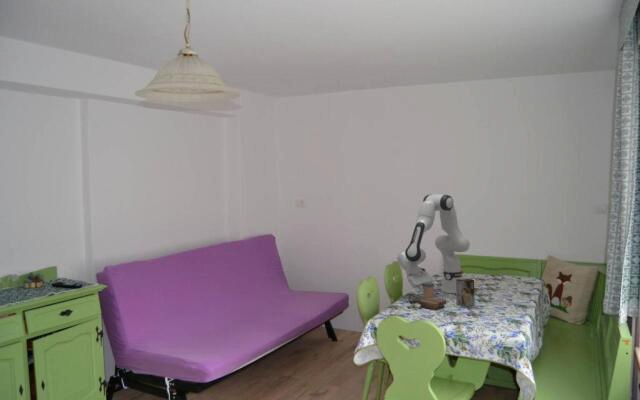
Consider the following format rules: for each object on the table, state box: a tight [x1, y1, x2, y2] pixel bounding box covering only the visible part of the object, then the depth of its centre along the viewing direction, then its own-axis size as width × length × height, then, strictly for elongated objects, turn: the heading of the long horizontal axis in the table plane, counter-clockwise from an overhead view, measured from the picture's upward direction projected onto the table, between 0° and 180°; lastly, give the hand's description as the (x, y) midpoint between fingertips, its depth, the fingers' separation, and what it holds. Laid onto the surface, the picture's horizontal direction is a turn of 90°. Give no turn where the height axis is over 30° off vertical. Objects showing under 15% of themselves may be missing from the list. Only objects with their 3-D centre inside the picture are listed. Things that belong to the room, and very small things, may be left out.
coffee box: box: [455, 277, 476, 308], centre depth 310 cm, size 9×6×16 cm
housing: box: [422, 282, 435, 300], centre depth 320 cm, size 5×5×12 cm
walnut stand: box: [418, 297, 447, 311], centre depth 307 cm, size 12×12×4 cm
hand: (427, 290), depth 320 cm, fingers open, 7 cm apart
